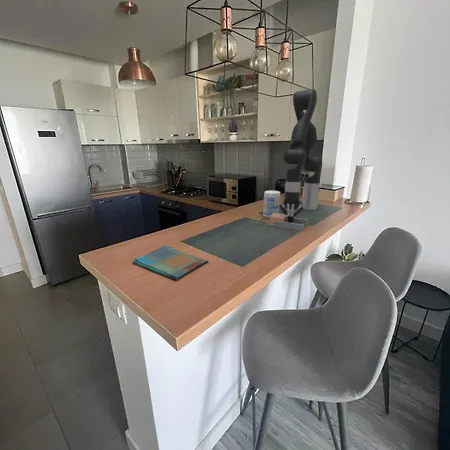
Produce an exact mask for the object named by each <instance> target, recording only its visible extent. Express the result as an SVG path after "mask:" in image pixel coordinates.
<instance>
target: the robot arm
mask: <svg viewBox="0 0 450 450" xmlns="http://www.w3.org/2000/svg"><path fill="white" fill-rule="evenodd" d="M317 101H318V94H317V90H316V89H314V88H311V89H310V88H308V89H304V90H298V91H295V92H294V94H293V97H292V104H293V105H292V106H293V110H294V113H295V118H296V124H295V125H294V127H293V129H292V132H291V137H290V141H289V144H288V146H287V148H286V149H285V151H284V153H283V161H284V163H285V165H296V167H295V168H290V169H288V170H287V171H286V173H285V174H286V176H285V177H286V178H285V184H284V185H285V187H284V198H283V199H284V200H283V202H282V203H280V205H279V207H280V209H279V210H281V211H282V214H285V215H287V216H288V220H287V221H288V222H289V223H292V222H293V220H294V218H295V217H296V216H297V215H299V214H300V213H301V212H302V210H307V211H316V210H317V209H318V203H319V193H320V182H321V175H322V171H323V163H324V162H323V158H322V157H321V156H310V153H311V151H312V149H313V148H314V146H315V144H316V143H317V142H318V135H317V128H316V126H315V124H314V123H313V122H312V117H313V115H314V112H315V109H316V107H317ZM304 111H305V112H304ZM303 170H304V171H305V172H308V173H313V175H310V176H307V177H305V178H304V183H303V185H304V186H303V197H302V204H301V202H300V200H301V199H300V197H301V179H302V178H301V177H302V171H303ZM297 209H298V210H297ZM296 210H297V211H296ZM295 211H296V212H295Z"/></svg>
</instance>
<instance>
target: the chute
mask: <svg viewBox="0 0 450 450" xmlns="http://www.w3.org/2000/svg"><path fill="white" fill-rule="evenodd" d="M308 225H309V219H307V218H301V217H300V218H299V217H294V220H293V222H292V223H289V222H282V221H274V225H273V227H274V228H280V229H285V228H286V230H292V229H293V231H294V230H295V231H300V232H304V230H305V226H308Z"/></svg>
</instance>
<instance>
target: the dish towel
mask: <svg viewBox="0 0 450 450" xmlns="http://www.w3.org/2000/svg"><path fill="white" fill-rule="evenodd" d="M208 263H209V260H208V259H205V258H201V257H200V256H196V255H193V254H191V253H188V252H185V251H181V250H180V249H179V250H178V249H176V248H174V247H173V246H170V245H162V246H160V247H159V248H157V249H154V250H152V251H150V252H148V253H147V254H144V255H142V256H138V257H135V258H134V259H132V264H134V265H136V266H137V267H138V266H139V267H141V268H144V269H147V270H150V271H153V272H155V273H156V274H158V275H161V276H164V277H166V278H169V279H171V280H174V281H176V282H177V281H179V280H181V279H183V278H184V277H186V276H188V275H190V274H191V273H193V272H195V271H197V270H198V269H200V268H202V267H204V266H205V265H207V264H208Z"/></svg>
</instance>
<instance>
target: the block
mask: <svg viewBox="0 0 450 450" xmlns="http://www.w3.org/2000/svg"><path fill="white" fill-rule="evenodd" d="M287 220H288V216H287V215H285V214H284V213H279V214H278V213H273V214H272V215H271V216H270V220H269V223H268V225H273V226H274V221H282V222H288V221H287Z"/></svg>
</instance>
